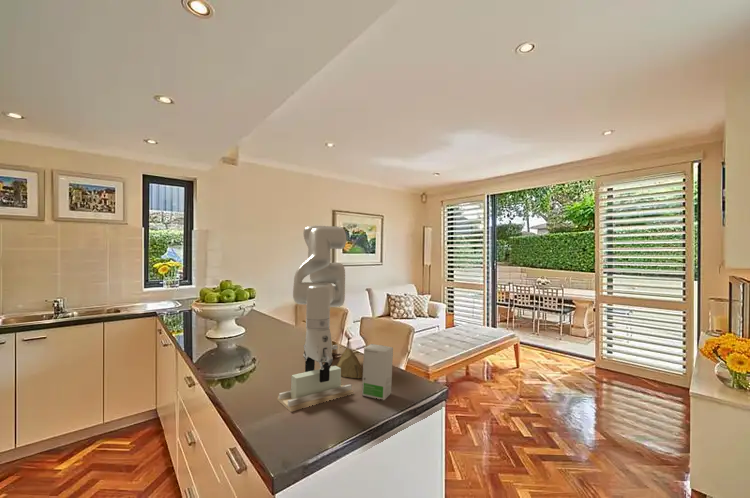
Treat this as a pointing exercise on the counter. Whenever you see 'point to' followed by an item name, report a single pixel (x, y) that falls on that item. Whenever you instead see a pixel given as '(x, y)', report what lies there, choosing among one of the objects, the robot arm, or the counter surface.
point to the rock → (349, 365)
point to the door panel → (314, 382)
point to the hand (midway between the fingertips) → (316, 376)
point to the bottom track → (313, 397)
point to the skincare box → (377, 371)
